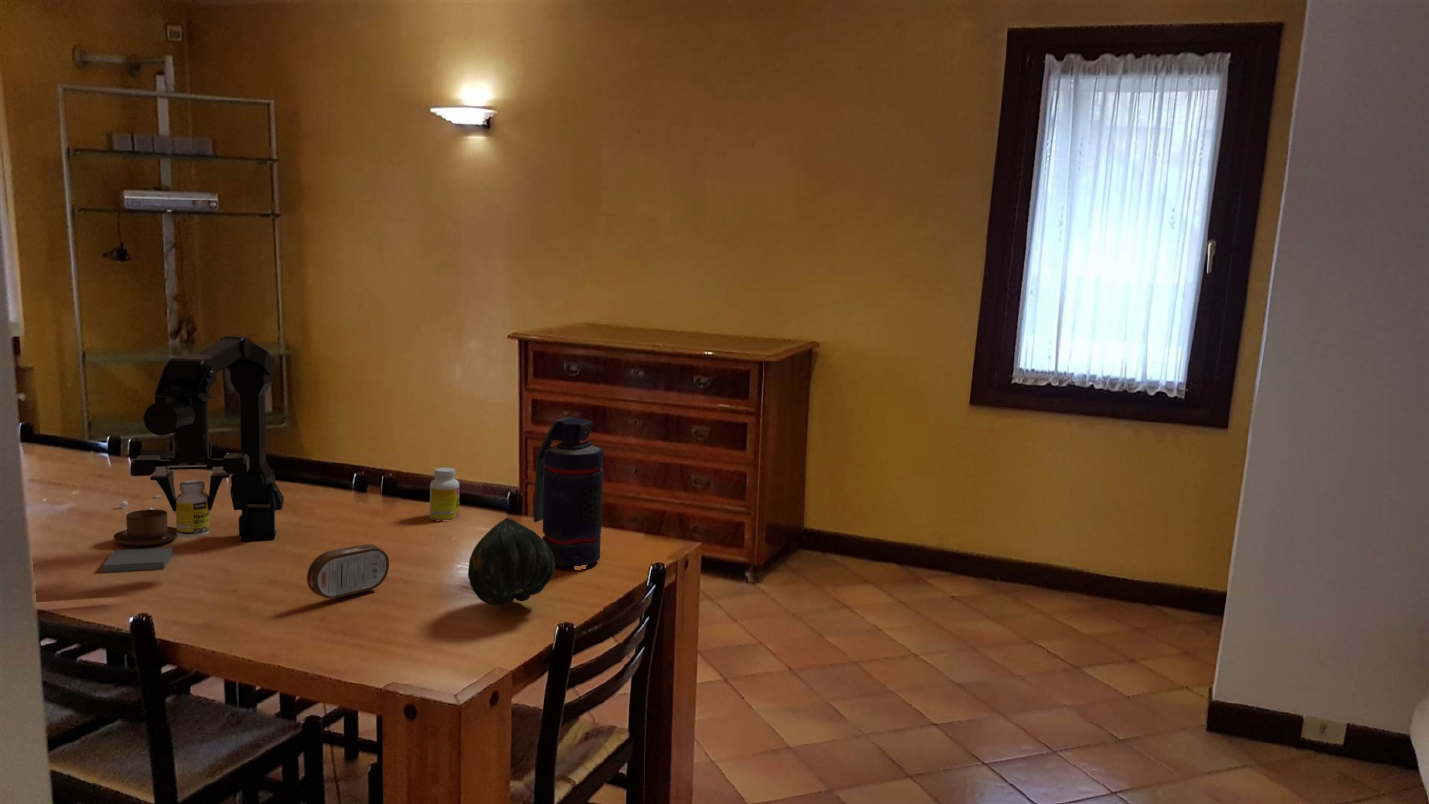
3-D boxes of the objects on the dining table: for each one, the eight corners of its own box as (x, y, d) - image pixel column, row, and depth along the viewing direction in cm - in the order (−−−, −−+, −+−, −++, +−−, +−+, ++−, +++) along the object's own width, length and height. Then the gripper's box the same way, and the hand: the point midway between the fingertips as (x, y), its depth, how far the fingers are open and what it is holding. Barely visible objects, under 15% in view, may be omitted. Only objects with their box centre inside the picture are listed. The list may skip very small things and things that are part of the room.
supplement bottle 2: (460, 526, 225) (461, 471, 223) (431, 527, 222) (431, 472, 221) (457, 519, 231) (457, 466, 229) (428, 520, 228) (428, 467, 227)
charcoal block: (172, 557, 193) (172, 547, 193) (163, 572, 184) (163, 561, 184) (115, 560, 190) (114, 550, 189) (103, 575, 180) (102, 565, 180)
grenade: (608, 559, 204) (613, 418, 200) (586, 574, 192) (590, 426, 189) (548, 551, 207) (552, 413, 204) (523, 566, 196) (526, 420, 192)
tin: (382, 582, 182) (382, 539, 181) (391, 586, 180) (392, 542, 179) (305, 600, 171) (305, 554, 170) (315, 604, 169) (314, 558, 168)
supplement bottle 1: (195, 539, 175) (194, 486, 174) (169, 536, 176) (167, 484, 175) (216, 532, 181) (215, 480, 179) (191, 529, 182) (189, 478, 180)
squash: (453, 602, 173) (454, 520, 171) (524, 586, 183) (526, 509, 181) (496, 624, 163) (498, 538, 161) (569, 606, 173) (571, 525, 171)
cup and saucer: (120, 536, 204) (119, 508, 204) (184, 533, 209) (183, 505, 208) (108, 552, 193) (107, 522, 193) (176, 548, 198) (175, 519, 197)
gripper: (251, 419, 187) (252, 498, 189) (140, 420, 180) (143, 502, 182) (245, 428, 177) (247, 512, 179) (128, 430, 170) (131, 516, 172)
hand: (192, 510), depth 178 cm, fingers closed on supplement bottle 1, 5 cm apart
